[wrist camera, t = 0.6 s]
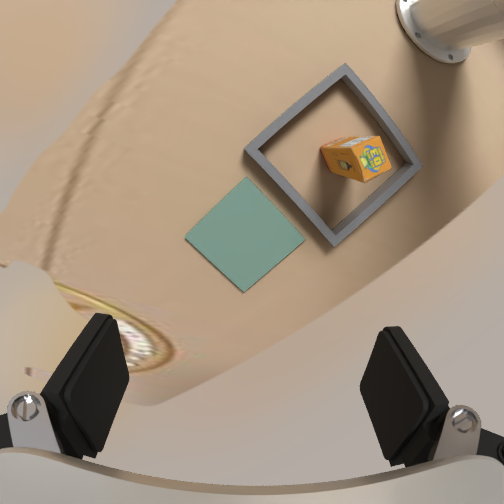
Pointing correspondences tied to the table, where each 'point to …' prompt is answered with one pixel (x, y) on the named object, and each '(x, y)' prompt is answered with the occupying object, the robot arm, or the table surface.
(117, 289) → the table surface
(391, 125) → the gray square frame
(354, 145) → the supplement box
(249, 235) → the mat
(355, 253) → the table surface
